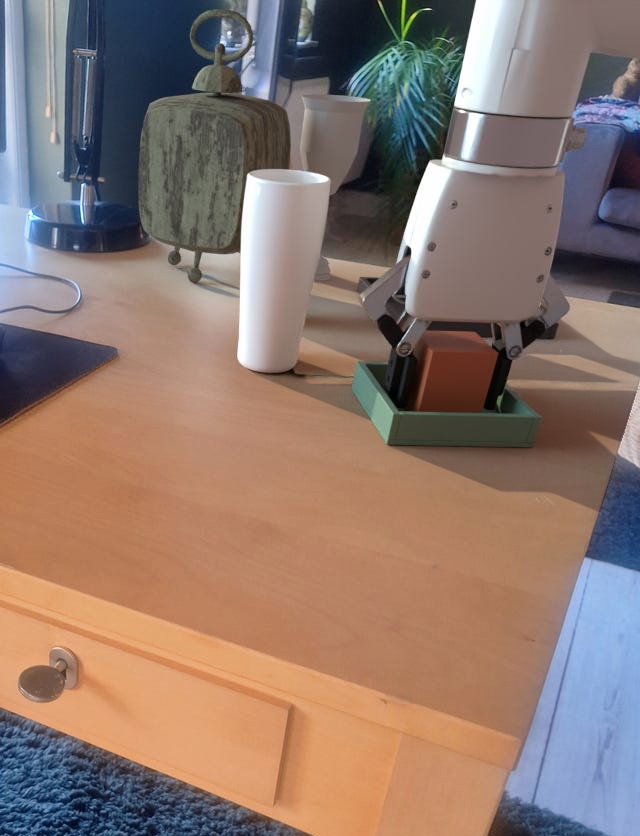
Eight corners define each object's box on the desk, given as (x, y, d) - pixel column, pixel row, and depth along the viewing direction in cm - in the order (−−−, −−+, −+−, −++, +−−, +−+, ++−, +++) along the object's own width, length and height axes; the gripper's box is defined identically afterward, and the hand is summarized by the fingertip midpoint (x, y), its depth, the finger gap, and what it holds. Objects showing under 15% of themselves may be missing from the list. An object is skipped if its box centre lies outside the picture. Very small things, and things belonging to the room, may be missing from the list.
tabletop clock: (276, 282, 100) (308, 14, 85) (240, 299, 94) (268, 13, 79) (167, 260, 106) (180, 5, 91) (127, 275, 99) (133, 4, 84)
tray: (479, 392, 74) (487, 364, 73) (532, 447, 66) (542, 417, 64) (351, 389, 74) (356, 360, 72) (386, 445, 65) (393, 414, 63)
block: (457, 400, 72) (475, 331, 68) (478, 425, 68) (498, 353, 64) (397, 399, 71) (412, 329, 68) (415, 423, 67) (432, 351, 64)
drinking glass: (261, 347, 81) (282, 166, 72) (320, 367, 78) (349, 179, 69) (212, 362, 77) (228, 172, 68) (271, 384, 74) (296, 187, 65)
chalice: (291, 286, 99) (315, 100, 88) (271, 270, 104) (291, 93, 93) (351, 285, 100) (382, 102, 90) (328, 270, 106) (355, 95, 95)
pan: (496, 299, 99) (501, 281, 97) (553, 343, 86) (559, 323, 85) (356, 294, 97) (359, 276, 96) (393, 338, 85) (397, 318, 84)
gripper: (602, 141, 62) (526, 388, 73) (363, 130, 61) (322, 382, 71) (656, 158, 56) (565, 424, 67) (392, 146, 55) (343, 419, 65)
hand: (440, 400), depth 69 cm, fingers open, 6 cm apart
